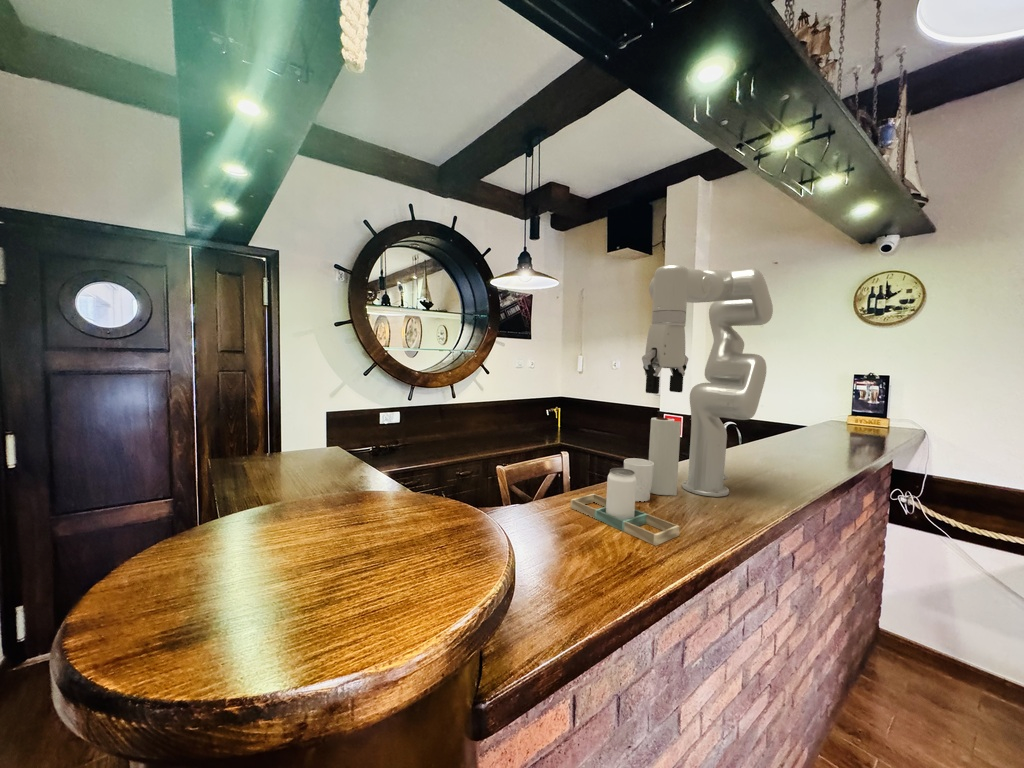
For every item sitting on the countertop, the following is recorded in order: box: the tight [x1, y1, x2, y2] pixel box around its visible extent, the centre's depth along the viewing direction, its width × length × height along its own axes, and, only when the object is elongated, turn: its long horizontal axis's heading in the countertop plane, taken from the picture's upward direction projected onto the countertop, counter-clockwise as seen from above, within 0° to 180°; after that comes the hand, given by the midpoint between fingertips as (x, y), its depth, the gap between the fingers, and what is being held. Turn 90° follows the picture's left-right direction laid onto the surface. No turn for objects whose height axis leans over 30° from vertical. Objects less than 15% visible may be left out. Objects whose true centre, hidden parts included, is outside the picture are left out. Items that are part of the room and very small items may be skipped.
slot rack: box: [570, 493, 681, 547], centre depth 98 cm, size 9×25×2 cm, turn 37°
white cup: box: [623, 457, 654, 503], centre depth 114 cm, size 8×8×10 cm
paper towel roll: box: [648, 417, 682, 496], centre depth 119 cm, size 7×6×21 cm
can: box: [605, 467, 636, 521], centre depth 97 cm, size 6×6×12 cm
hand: (664, 392), depth 99 cm, fingers open, 9 cm apart
